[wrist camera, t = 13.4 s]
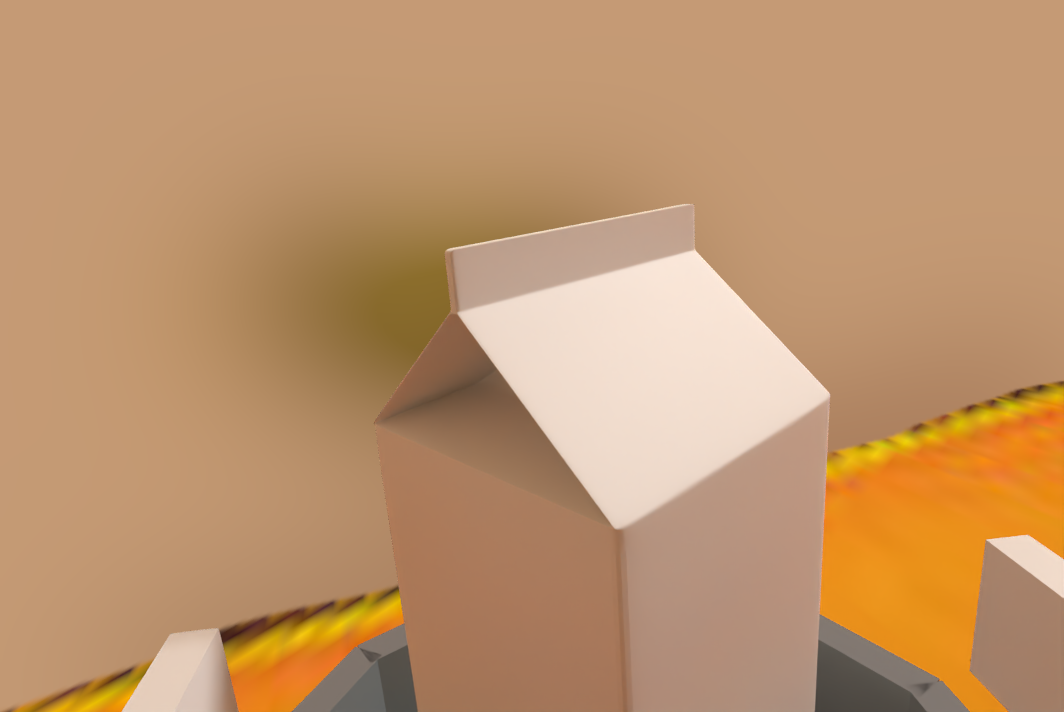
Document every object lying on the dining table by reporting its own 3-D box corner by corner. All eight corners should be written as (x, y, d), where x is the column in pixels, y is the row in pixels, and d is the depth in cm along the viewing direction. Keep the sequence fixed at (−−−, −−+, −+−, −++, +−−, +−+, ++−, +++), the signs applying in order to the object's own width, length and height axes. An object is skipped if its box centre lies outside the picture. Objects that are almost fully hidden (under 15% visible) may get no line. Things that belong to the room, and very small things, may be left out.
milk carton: (808, 906, 19) (842, 204, 14) (647, 1160, 15) (605, 263, 9) (611, 759, 24) (579, 203, 19) (446, 914, 20) (343, 241, 14)
